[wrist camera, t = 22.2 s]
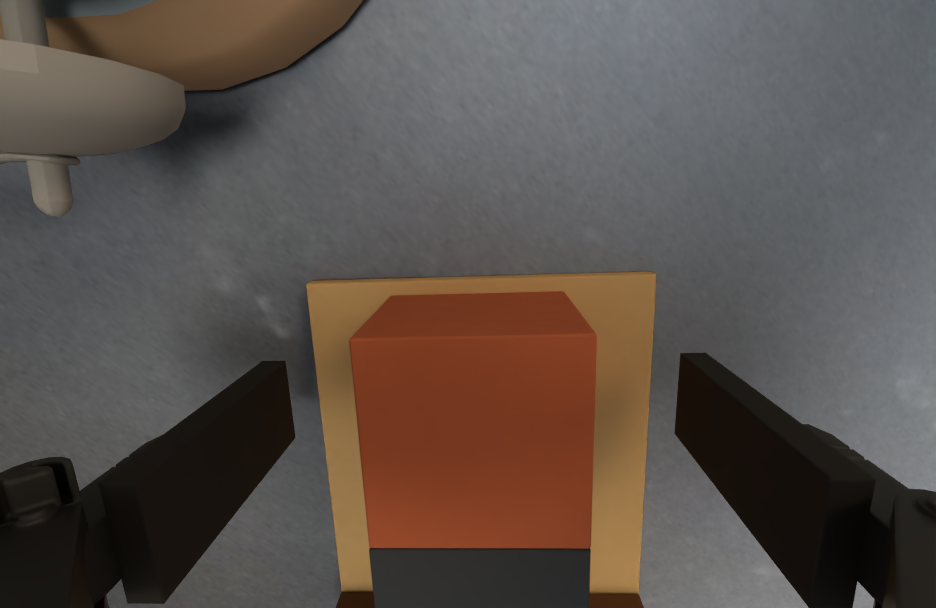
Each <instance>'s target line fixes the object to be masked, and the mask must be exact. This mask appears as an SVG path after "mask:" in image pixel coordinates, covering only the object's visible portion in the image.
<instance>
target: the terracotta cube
mask: <svg viewBox="0 0 936 608" xmlns="http://www.w3.org/2000/svg"><path fill="white" fill-rule="evenodd" d="M349 345H350V355H351V365H352V376H353V386H354V396H355V406H356V417H357V427H358V437H359V447H360V458H361V468H362V478H363V488H364V499H365V509H366V519H367V529H368V540H369V547H370V548H571V549H588V548H590V547H591V526H592V492H593V457H594V422H595V388H596V353H597V335H596V333H595V331H594V330H593V329H592V328H591V326H590V325H589V324H588V322H587V321H586V320H585V318H584V317H583V316H582V314H581V313H580V312H579V310H578V309H577V308H576V307H575V305H574V304H573V303H572V301H571V300H570V299H569V297H568V296H567V295H566V293H565V292H563V291H553V292H514V293H475V294H435V295H396V296H390V297H389V298H388V299H387V300H386V301H385V302H384V303H383V304H382V306H381V307H380V308H379V309H378V310H377V311H376V312H375V313H374V314H373V315H372V316H371V317H370V318H369V319H368V320H367V321H366V322H365V323H364V324H363V325H362V326H361V328H360V329H359V330H358V331H357V332H356V333H355V334H354V335H353V336H352V337H351V338H350V340H349Z"/></svg>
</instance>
